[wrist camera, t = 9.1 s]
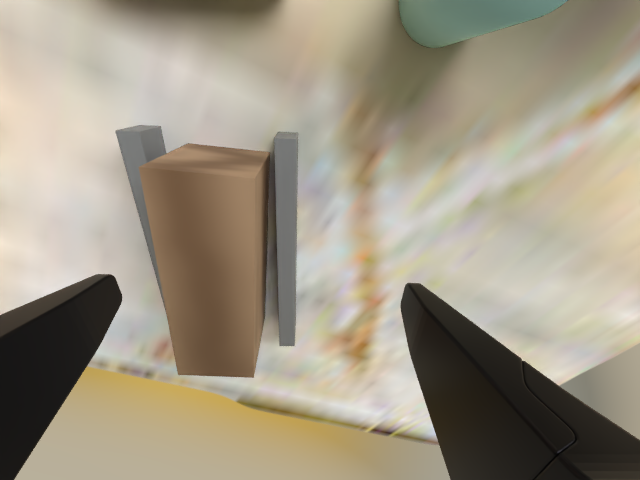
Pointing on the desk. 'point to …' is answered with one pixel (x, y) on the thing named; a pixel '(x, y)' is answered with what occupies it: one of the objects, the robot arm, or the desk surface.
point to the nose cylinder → (466, 18)
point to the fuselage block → (211, 253)
